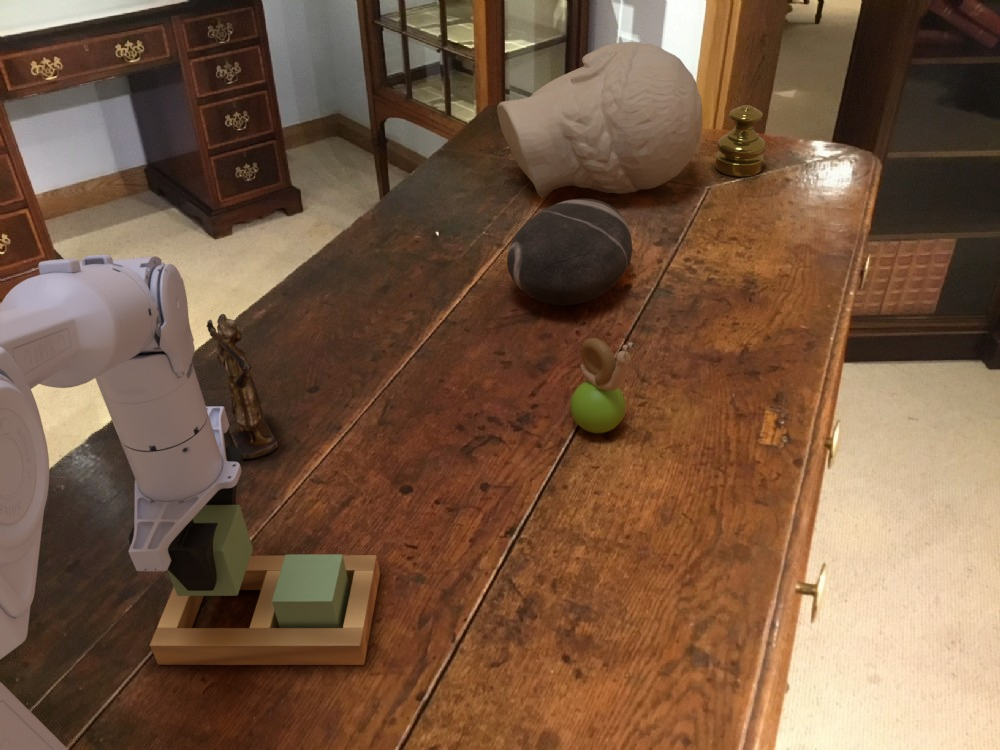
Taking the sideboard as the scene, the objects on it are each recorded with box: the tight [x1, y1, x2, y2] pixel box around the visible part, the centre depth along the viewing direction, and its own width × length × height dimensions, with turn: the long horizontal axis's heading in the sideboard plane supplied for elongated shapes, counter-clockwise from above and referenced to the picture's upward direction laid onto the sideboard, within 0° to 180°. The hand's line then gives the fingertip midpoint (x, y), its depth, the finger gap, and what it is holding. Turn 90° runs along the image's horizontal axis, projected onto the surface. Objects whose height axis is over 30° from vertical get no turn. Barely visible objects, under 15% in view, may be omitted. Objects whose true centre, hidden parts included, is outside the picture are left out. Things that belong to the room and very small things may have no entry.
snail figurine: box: [570, 337, 634, 434], centre depth 82 cm, size 5×6×12 cm
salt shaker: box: [714, 104, 767, 178], centre depth 133 cm, size 7×7×10 cm
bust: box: [496, 41, 704, 199], centre depth 127 cm, size 21×24×30 cm
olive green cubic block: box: [166, 504, 254, 597], centre depth 64 cm, size 5×5×5 cm
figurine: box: [206, 313, 279, 460], centre depth 81 cm, size 7×4×15 cm, turn 28°
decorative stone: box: [506, 198, 633, 307], centre depth 106 cm, size 19×14×10 cm
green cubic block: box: [272, 553, 350, 628], centre depth 67 cm, size 5×5×5 cm
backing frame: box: [149, 554, 381, 666], centre depth 68 cm, size 9×16×2 cm, turn 89°
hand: (211, 560), depth 65 cm, fingers closed on olive green cubic block, 4 cm apart
